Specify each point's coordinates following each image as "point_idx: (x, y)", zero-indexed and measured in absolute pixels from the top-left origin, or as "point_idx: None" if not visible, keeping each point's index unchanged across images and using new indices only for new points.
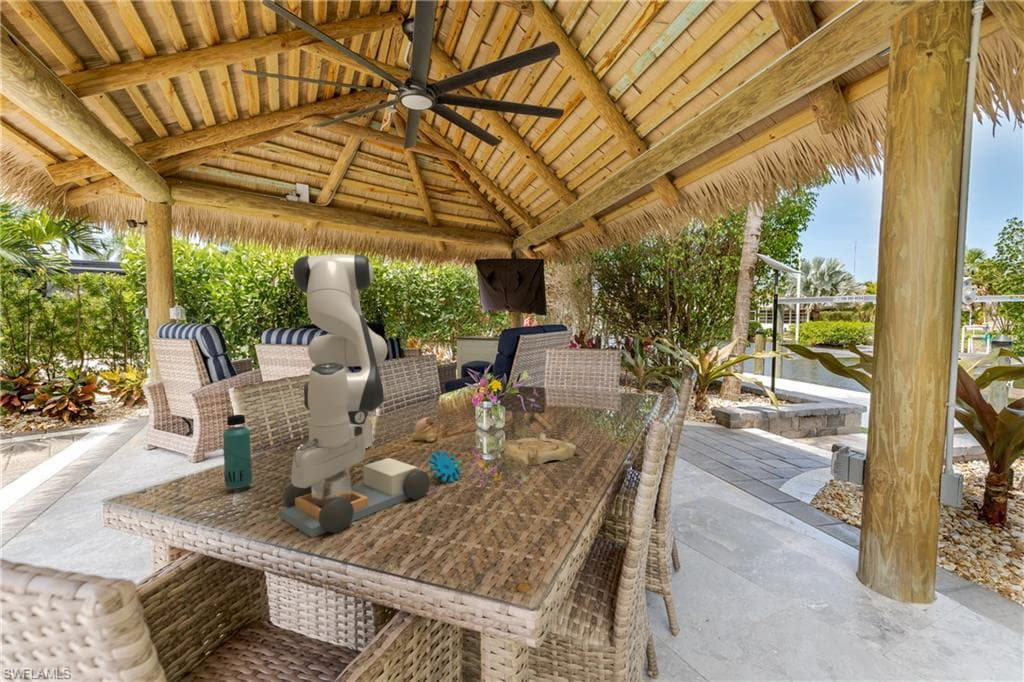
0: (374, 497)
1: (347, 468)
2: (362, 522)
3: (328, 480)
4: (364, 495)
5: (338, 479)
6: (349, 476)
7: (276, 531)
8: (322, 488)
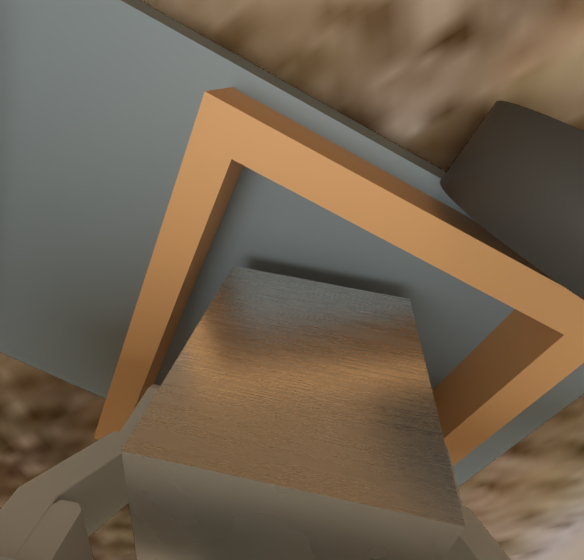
0: (74, 129)
1: (12, 547)
2: (395, 53)
3: None
4: (85, 229)
5: (346, 522)
6: (160, 440)
7: (528, 460)
8: (469, 540)
